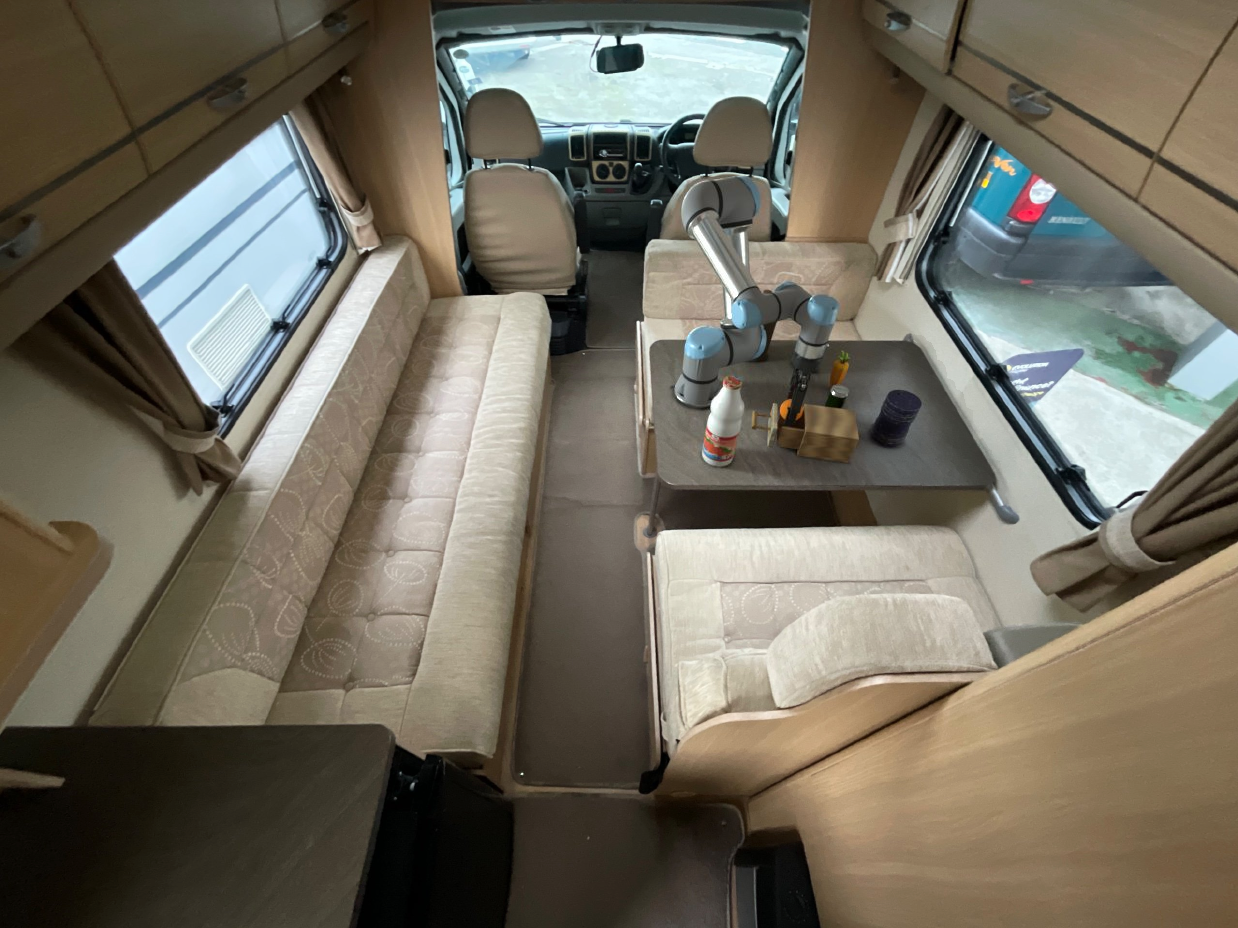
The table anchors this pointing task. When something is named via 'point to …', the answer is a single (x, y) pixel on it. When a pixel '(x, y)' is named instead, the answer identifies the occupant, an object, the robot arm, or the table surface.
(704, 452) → the fruit juice
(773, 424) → the drawer
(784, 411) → the orange
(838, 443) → the cabinet
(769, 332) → the olive oil
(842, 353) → the carrot
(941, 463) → the table surface
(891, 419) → the storage jar
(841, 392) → the beer can
